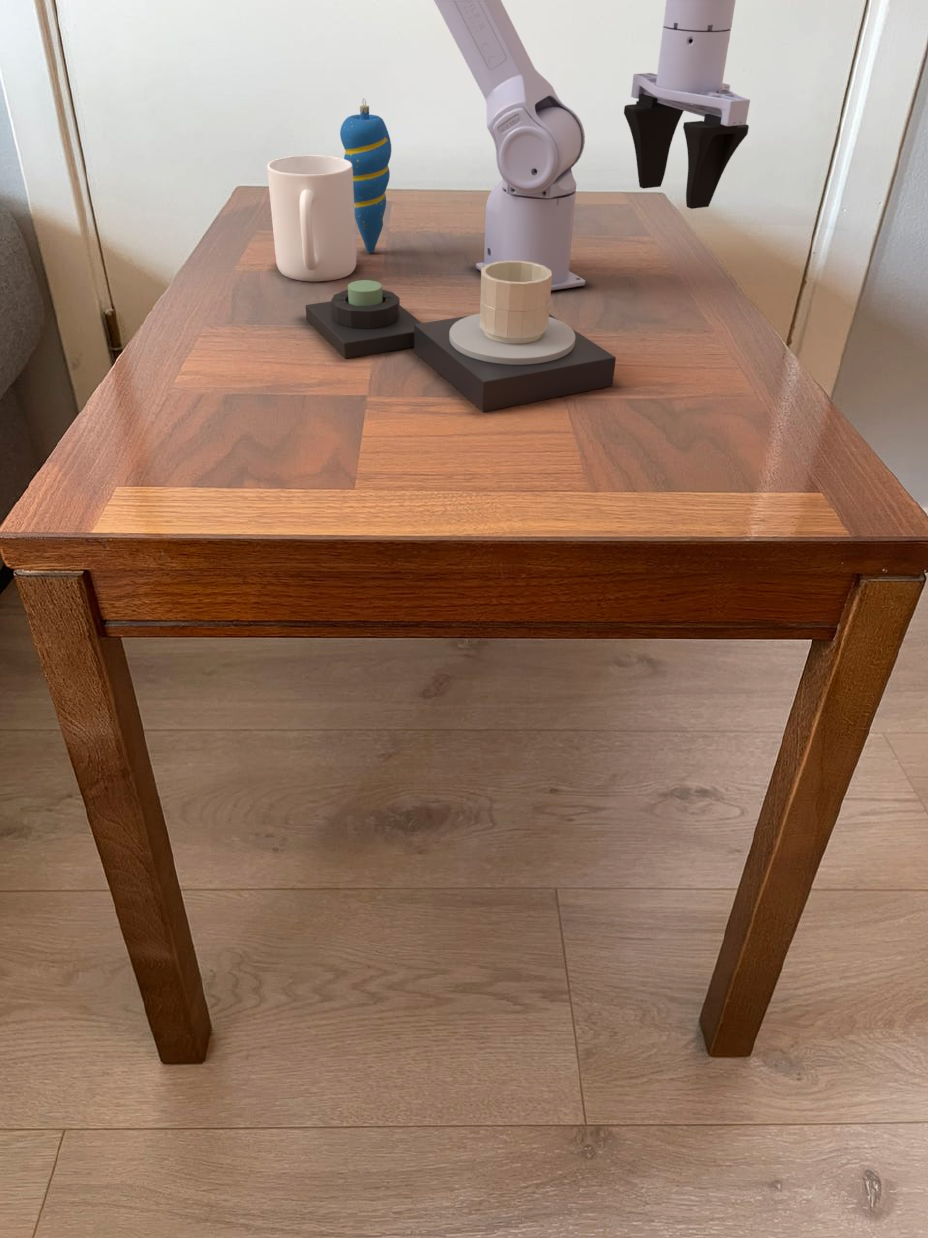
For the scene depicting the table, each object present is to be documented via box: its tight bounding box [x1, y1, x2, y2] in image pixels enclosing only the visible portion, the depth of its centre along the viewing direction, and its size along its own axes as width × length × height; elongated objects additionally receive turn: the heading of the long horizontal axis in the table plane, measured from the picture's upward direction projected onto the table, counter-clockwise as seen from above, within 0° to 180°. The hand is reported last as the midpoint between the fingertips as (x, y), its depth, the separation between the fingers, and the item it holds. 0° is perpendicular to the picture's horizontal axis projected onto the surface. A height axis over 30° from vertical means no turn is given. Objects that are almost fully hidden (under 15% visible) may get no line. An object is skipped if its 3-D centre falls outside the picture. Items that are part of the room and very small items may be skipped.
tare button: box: [347, 279, 383, 306], centre depth 86 cm, size 3×3×2 cm
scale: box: [413, 312, 617, 413], centre depth 81 cm, size 13×12×3 cm
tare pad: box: [305, 289, 422, 359], centre depth 87 cm, size 10×8×3 cm
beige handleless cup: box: [479, 261, 552, 344], centre depth 79 cm, size 6×6×5 cm
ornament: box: [339, 98, 392, 254], centre depth 102 cm, size 5×5×15 cm
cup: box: [266, 154, 357, 282], centre depth 97 cm, size 8×12×10 cm
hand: (673, 196), depth 91 cm, fingers open, 7 cm apart
